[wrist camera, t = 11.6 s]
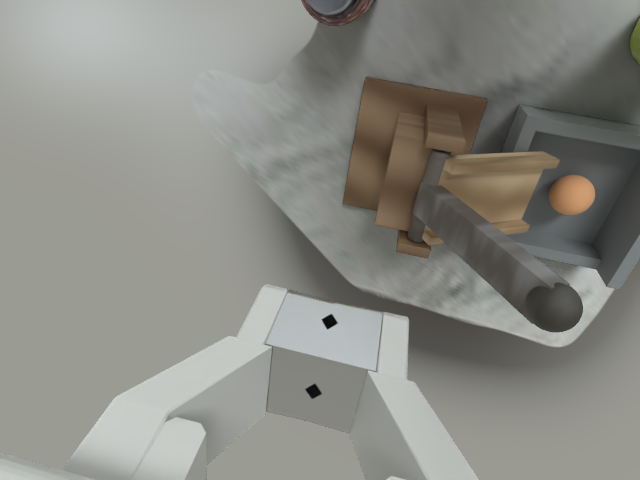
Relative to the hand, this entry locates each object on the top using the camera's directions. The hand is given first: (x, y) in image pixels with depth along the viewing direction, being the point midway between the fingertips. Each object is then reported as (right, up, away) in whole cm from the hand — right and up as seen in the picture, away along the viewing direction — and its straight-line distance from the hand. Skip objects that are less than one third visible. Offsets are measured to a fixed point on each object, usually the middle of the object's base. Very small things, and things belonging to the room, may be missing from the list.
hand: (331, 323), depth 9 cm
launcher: (+14, +7, +32) cm, 35 cm away
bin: (+25, +8, +36) cm, 45 cm away
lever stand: (+9, +11, +38) cm, 40 cm away
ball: (+25, +6, +34) cm, 42 cm away
